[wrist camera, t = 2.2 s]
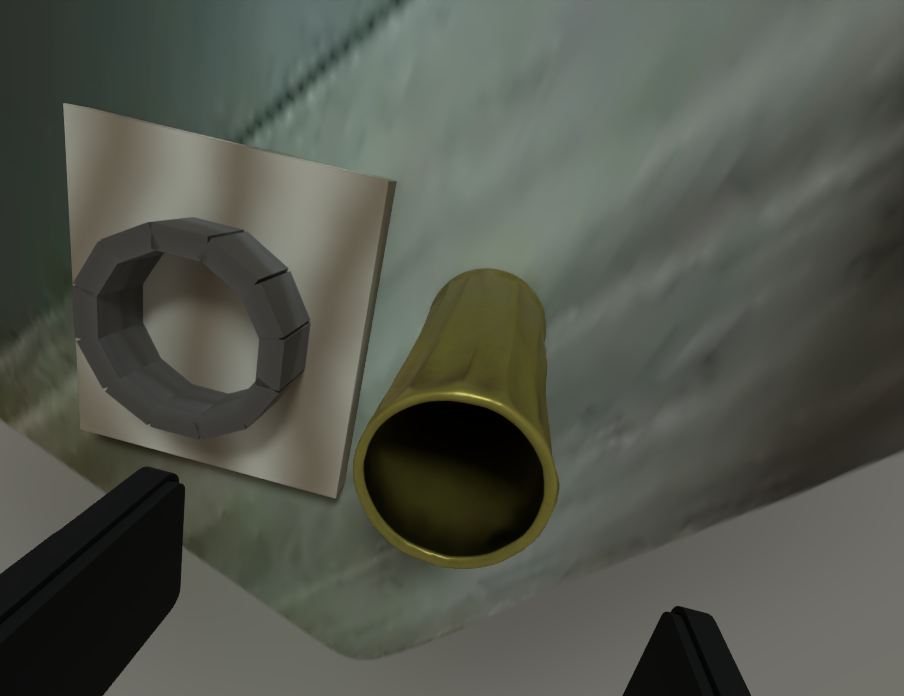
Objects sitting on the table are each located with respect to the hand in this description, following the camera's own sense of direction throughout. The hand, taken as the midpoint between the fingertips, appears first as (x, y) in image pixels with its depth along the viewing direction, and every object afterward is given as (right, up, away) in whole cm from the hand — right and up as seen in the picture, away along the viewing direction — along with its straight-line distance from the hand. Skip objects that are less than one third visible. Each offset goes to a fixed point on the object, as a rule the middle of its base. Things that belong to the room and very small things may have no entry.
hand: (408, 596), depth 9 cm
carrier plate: (-12, +7, +18) cm, 22 cm away
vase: (+3, +6, +16) cm, 18 cm away
